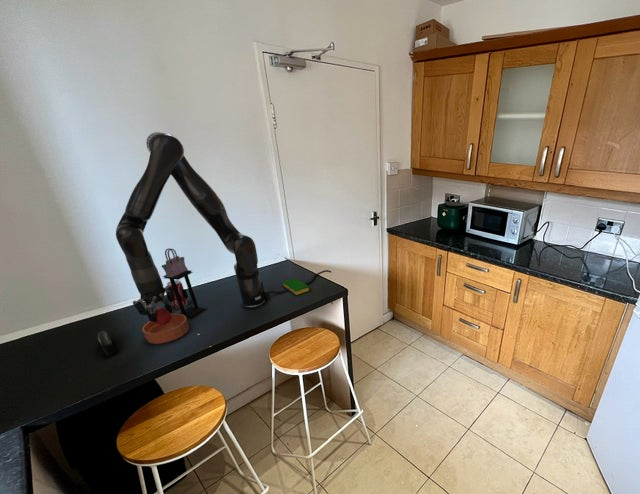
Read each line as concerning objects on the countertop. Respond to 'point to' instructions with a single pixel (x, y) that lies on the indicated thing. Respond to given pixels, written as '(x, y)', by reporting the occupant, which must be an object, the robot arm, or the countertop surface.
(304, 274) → the countertop surface
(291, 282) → the dish sponge
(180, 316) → the bowl
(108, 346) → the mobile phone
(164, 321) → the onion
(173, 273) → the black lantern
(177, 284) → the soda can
